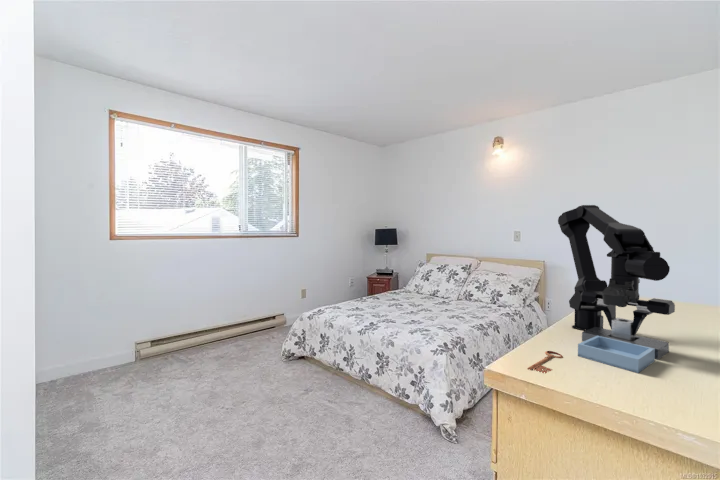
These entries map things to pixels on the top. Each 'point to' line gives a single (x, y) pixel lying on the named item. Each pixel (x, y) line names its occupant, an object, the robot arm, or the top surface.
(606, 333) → the gray square hole plate
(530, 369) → the key
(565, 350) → the top surface
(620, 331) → the small speaker box
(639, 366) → the parts tray
